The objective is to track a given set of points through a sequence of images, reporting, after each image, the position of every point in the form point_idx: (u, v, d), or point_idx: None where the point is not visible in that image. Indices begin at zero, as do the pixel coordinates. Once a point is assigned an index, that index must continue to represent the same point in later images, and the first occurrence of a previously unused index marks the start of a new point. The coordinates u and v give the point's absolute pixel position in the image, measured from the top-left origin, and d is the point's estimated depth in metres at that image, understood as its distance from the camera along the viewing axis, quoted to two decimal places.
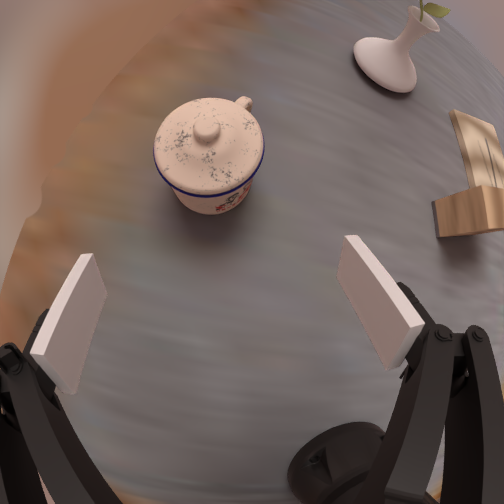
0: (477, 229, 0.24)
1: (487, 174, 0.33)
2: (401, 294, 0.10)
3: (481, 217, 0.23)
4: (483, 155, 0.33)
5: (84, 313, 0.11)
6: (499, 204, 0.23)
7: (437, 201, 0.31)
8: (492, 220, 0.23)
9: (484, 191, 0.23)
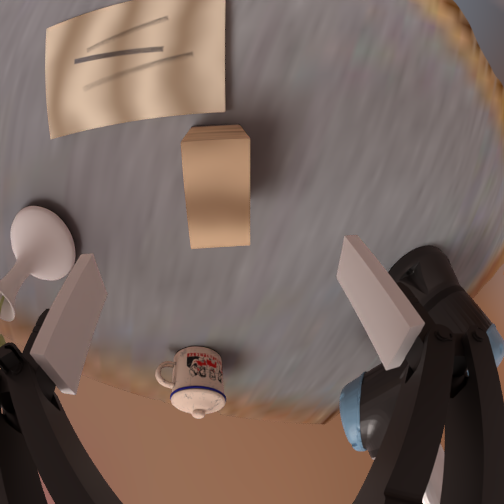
0: None
1: (139, 73, 0.22)
2: (401, 294, 0.10)
3: None
4: (106, 77, 0.21)
5: (84, 313, 0.11)
6: (213, 206, 0.22)
7: None
8: (238, 233, 0.23)
9: (198, 242, 0.23)
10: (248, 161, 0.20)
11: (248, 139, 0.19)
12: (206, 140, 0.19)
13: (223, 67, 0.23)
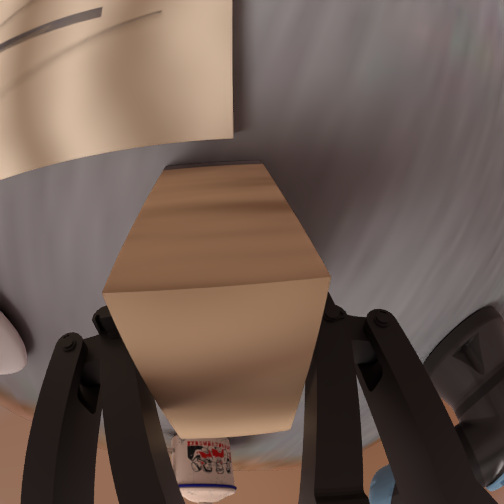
0: None
1: (56, 68, 0.08)
2: None
3: None
4: (7, 85, 0.08)
5: None
6: (219, 404, 0.08)
7: None
8: (271, 423, 0.10)
9: (194, 435, 0.10)
10: (314, 331, 0.07)
11: (325, 280, 0.06)
12: (183, 287, 0.06)
13: (228, 40, 0.09)
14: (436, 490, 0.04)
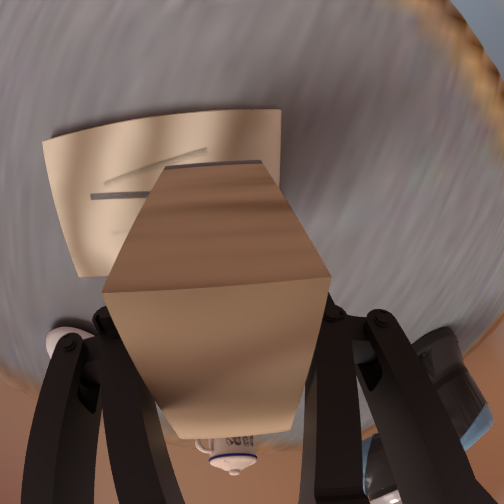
0: None
1: None
2: None
3: None
4: None
5: None
6: (219, 404, 0.08)
7: None
8: (271, 424, 0.10)
9: (193, 435, 0.10)
10: (314, 331, 0.07)
11: (325, 279, 0.06)
12: (183, 287, 0.06)
13: None
14: (436, 490, 0.04)
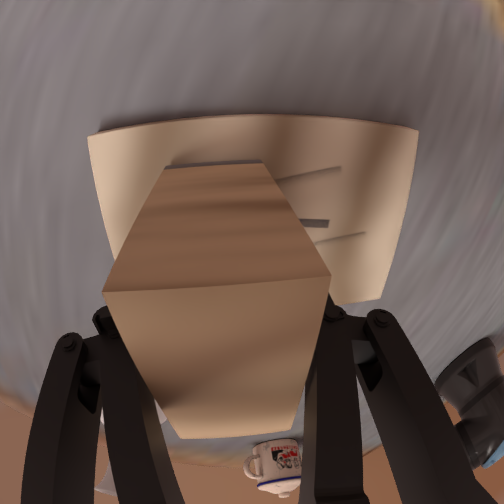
0: None
1: None
2: None
3: None
4: None
5: None
6: (220, 404, 0.08)
7: None
8: (272, 423, 0.10)
9: (194, 434, 0.10)
10: (315, 330, 0.07)
11: (326, 278, 0.06)
12: (183, 286, 0.06)
13: (393, 251, 0.19)
14: (436, 490, 0.04)
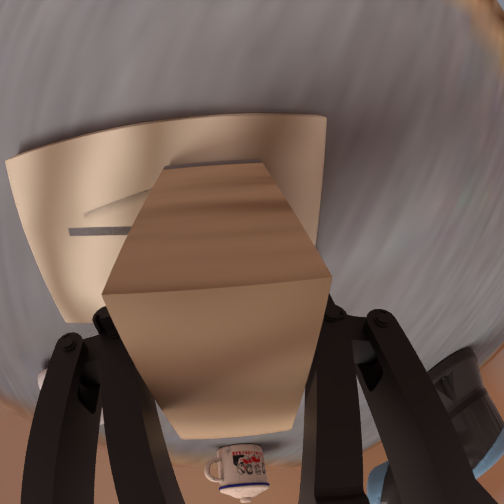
0: None
1: None
2: None
3: None
4: None
5: None
6: (220, 404, 0.08)
7: None
8: (272, 423, 0.10)
9: (195, 435, 0.10)
10: (315, 331, 0.07)
11: (326, 280, 0.06)
12: (183, 288, 0.06)
13: None
14: (436, 490, 0.04)
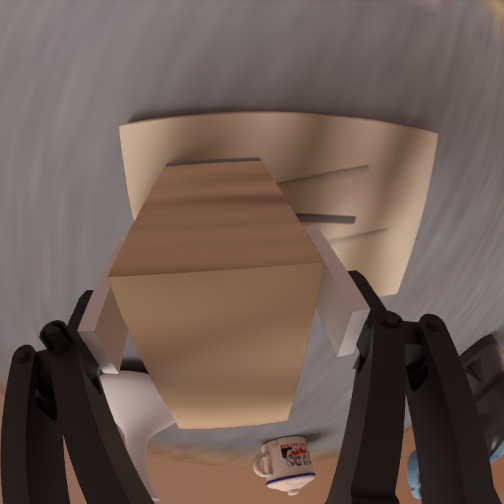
0: None
1: None
2: (349, 280, 0.11)
3: None
4: None
5: None
6: (218, 391, 0.09)
7: None
8: (269, 413, 0.10)
9: (193, 424, 0.10)
10: (309, 317, 0.07)
11: (318, 265, 0.06)
12: (185, 271, 0.06)
13: (411, 248, 0.20)
14: (458, 491, 0.03)
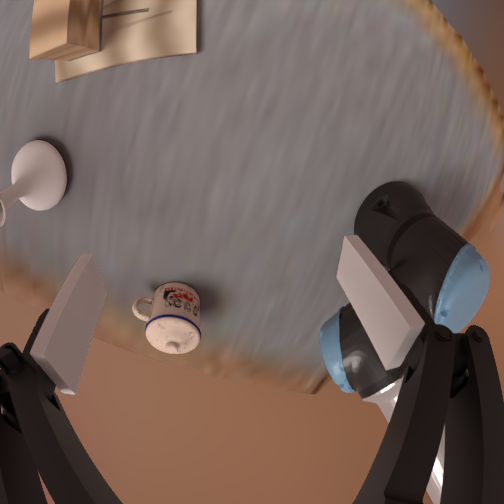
0: (73, 44, 0.18)
1: (129, 28, 0.24)
2: (401, 294, 0.10)
3: (59, 47, 0.17)
4: (104, 32, 0.23)
5: (84, 313, 0.11)
6: (46, 22, 0.14)
7: (66, 60, 0.23)
8: (59, 35, 0.15)
9: (34, 52, 0.15)
10: None
11: None
12: None
13: (194, 20, 0.25)
14: (476, 497, 0.03)
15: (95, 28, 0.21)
